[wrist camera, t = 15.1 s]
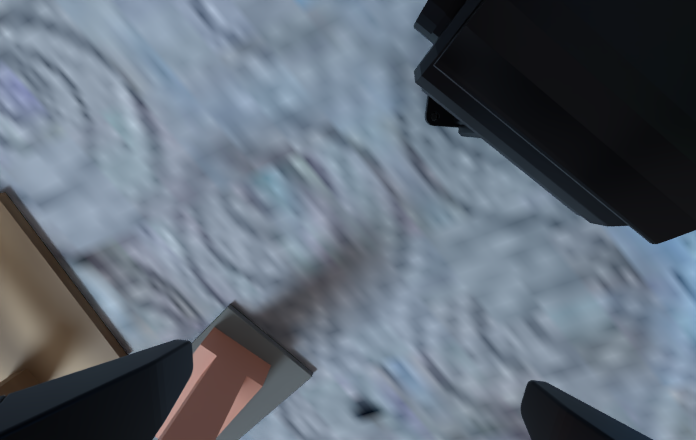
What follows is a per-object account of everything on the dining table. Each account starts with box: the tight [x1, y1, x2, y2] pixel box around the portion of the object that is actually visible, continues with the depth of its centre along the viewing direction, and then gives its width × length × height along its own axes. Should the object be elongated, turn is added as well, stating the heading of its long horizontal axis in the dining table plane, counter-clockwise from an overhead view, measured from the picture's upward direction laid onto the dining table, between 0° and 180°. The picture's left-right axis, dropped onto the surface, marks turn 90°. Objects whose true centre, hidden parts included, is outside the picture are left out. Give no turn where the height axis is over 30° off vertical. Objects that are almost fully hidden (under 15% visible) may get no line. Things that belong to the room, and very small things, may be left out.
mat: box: [192, 305, 313, 440], centre depth 25 cm, size 12×8×1 cm, turn 136°
